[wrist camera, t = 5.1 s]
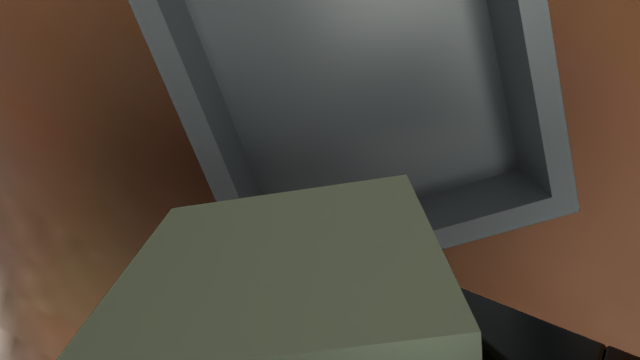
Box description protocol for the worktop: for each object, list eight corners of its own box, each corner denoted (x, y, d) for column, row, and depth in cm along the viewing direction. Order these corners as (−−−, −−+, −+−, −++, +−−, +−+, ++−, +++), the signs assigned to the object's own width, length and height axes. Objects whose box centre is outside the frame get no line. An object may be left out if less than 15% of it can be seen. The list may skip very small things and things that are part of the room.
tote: (536, 176, 19) (579, 211, 16) (269, 253, 21) (259, 299, 17) (444, -331, 14) (480, -435, 11) (91, -181, 15) (26, -231, 12)
